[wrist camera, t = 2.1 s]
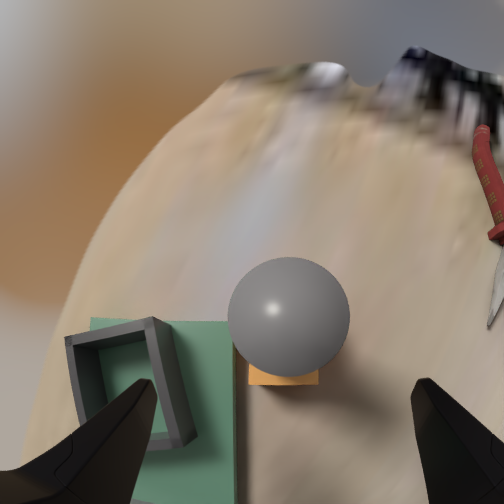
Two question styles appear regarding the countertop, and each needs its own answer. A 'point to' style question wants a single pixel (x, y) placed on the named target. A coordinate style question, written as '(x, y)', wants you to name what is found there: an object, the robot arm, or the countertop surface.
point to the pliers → (491, 205)
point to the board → (202, 408)
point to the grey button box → (139, 502)
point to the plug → (288, 321)
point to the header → (164, 370)
